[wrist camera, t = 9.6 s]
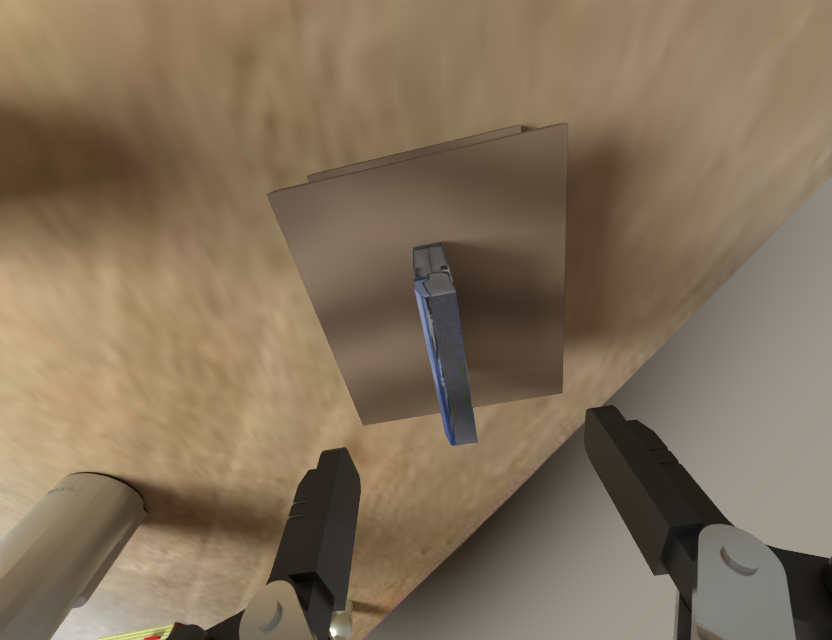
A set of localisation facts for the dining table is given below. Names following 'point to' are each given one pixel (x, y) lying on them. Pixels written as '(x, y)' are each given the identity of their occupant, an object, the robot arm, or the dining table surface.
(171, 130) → the dining table surface
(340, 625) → the valve
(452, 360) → the mini dv tape
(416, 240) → the stand
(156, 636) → the hardcover book
